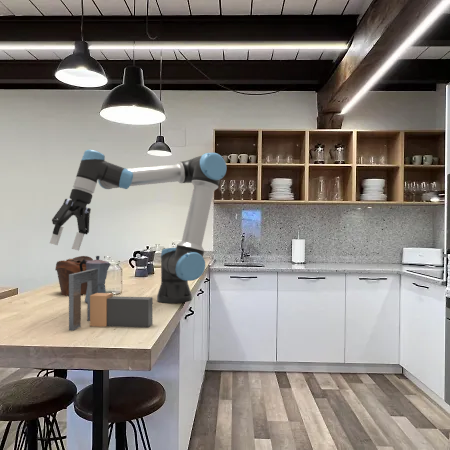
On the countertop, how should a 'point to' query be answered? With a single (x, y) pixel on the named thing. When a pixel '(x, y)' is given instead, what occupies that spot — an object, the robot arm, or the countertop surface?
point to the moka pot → (102, 272)
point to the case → (70, 272)
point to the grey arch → (75, 295)
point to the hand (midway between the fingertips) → (64, 247)
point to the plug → (120, 311)
